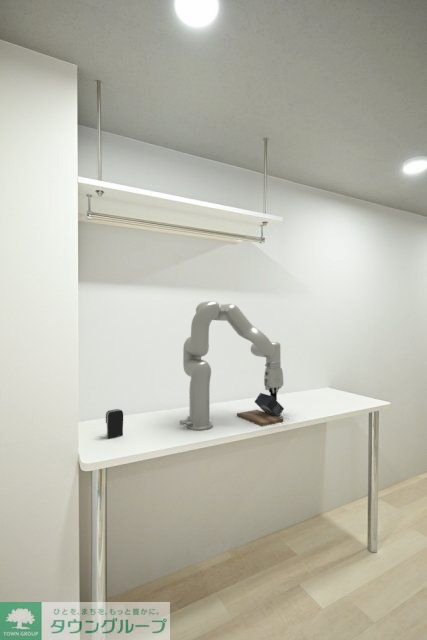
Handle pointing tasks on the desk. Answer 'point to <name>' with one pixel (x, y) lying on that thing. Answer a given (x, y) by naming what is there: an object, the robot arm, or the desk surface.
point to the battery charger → (114, 423)
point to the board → (260, 417)
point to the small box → (269, 404)
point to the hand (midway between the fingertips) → (273, 400)
